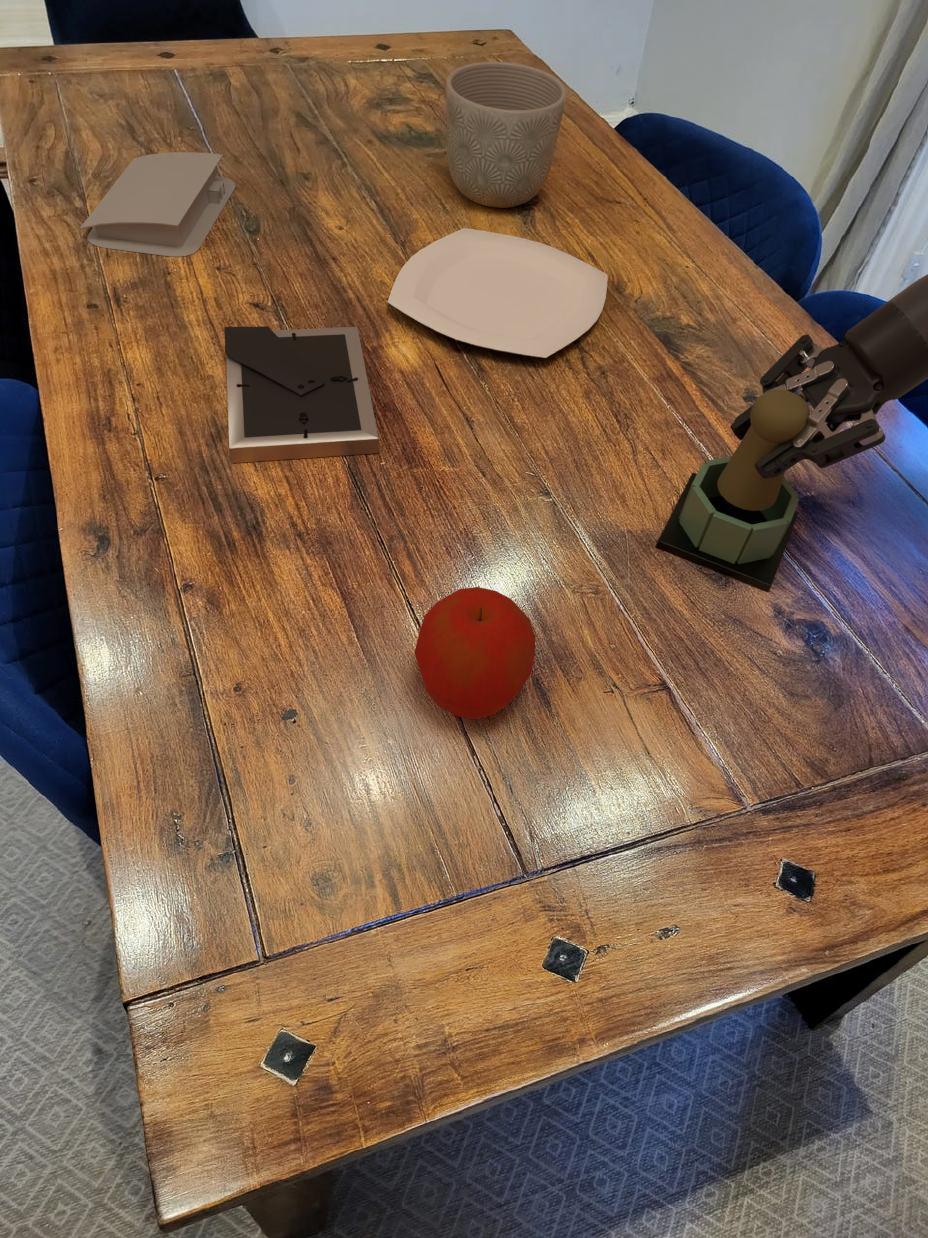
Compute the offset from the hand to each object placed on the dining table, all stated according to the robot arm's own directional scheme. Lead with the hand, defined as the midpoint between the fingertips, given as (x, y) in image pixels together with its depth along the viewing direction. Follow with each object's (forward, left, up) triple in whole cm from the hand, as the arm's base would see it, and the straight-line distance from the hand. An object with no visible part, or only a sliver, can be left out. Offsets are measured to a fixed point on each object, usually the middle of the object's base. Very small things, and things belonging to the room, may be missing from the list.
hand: (747, 452), depth 83 cm
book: (+88, -21, -12) cm, 91 cm away
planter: (+51, -53, -12) cm, 74 cm away
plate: (+38, -27, -12) cm, 48 cm away
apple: (+14, +30, -12) cm, 35 cm away
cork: (-1, -1, -5) cm, 6 cm away
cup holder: (-1, -1, -11) cm, 11 cm away
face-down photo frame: (+49, +4, -12) cm, 50 cm away
